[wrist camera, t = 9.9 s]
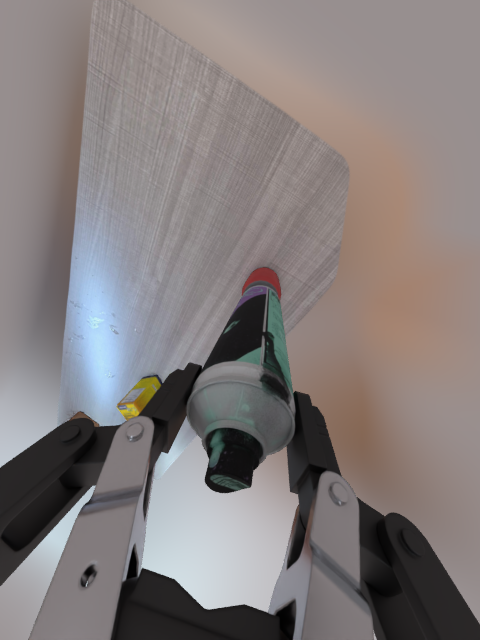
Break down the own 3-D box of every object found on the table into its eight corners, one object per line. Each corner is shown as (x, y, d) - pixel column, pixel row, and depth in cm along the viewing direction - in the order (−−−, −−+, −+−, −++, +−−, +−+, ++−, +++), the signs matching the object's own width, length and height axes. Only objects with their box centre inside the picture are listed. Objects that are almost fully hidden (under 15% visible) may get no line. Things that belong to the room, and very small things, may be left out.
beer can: (260, 260, 37) (255, 268, 26) (285, 279, 37) (291, 294, 26) (242, 286, 39) (231, 302, 28) (266, 303, 40) (264, 325, 29)
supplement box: (151, 391, 58) (126, 421, 48) (142, 377, 56) (115, 405, 46) (166, 389, 57) (144, 420, 47) (157, 374, 55) (132, 403, 45)
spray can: (246, 279, 23) (160, 412, 5) (286, 292, 23) (341, 475, 5) (235, 315, 26) (149, 493, 7) (271, 327, 25) (272, 539, 7)
